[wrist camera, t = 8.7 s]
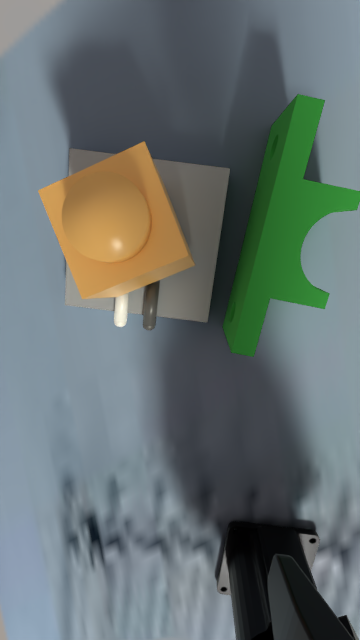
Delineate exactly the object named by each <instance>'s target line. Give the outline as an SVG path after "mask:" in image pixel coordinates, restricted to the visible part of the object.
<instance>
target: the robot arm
mask: <svg viewBox="0 0 360 640" xmlns="http://www.w3.org/2000/svg"><path fill="white" fill-rule="evenodd" d="M234 529H237V530H234ZM311 538H312V539H311ZM319 542H320V539H319V537H318V534H317V532H315V531H313V530H305V529H296V528H288V527H280V526H271V525H263V524H254V523H246V522H237V521H233V522H231V523H230V524H229V525H228V530H227V535H226V540H225V545H224V550H223V555H222V560H221V565H220V570H219V575H218V580H217V591H218V592H219V593H220V594H225V595H231V599H232V607H233V616H234V625H235V633H236V640H359V639H358V637H357V635H356V633H355V631H354V629H353V627H352V625H351V623H350V621H349V619H348V617H347V615H345V616H341V617H338V618H337V616H336V615H335V614H334V612H333V611H332V610H331V608H330V607H329V606H328V604H327V603H326V602H325V600H324V599H323V598H322V596H321V595H320V594H319V592H318V591H317V587H316V585H315V582H314V579H313V576H312V573H311V569H312V566H313V562H314V559H315V556H316V552H317V549H318V546H319Z"/></svg>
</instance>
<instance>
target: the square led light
mask: <svg viewBox="0 0 360 640" xmlns="http://www.w3.org/2000/svg"><path fill="white" fill-rule="evenodd" d="M38 192H39V194H40V197H41V199H42V202H43V204H44V206H45V209H46V211H47V214H48V216H49V219H50V221H51V224H52V226H53V229H54V231H55V234H56V236H57V238H58V241H59V243H60V246H61V248H62V251H63V253H64V256H65V258H66V261H67V263H68V266H69V268H70V271H71V273H72V275H73V278H74V280H75V283H76V285H77V288H78V290H79V293H80V295H81V298H82V299H94V298H110V297H119V296H121V295H124V294H126V293H129V292H131V291H134V290H136V289H139V288H141V287H144V286H146V285H148V284H151V283H153V282H156V281H158V280H161V279H163V278H166V277H168V276H171V275H173V274H176V273H178V272H180V271H183V270H185V269H188V268H190V267H193V266H195V262H194V260H193V257H192V255H191V252H190V250H189V247H188V244H187V242H186V239H185V237H184V234H183V232H182V229H181V226H180V224H179V221H178V219H177V216H176V213H175V211H174V208H173V206H172V203H171V201H170V198H169V195H168V193H167V190H166V188H165V185H164V183H163V180H162V178H161V176H160V174H159V172H158V170H157V167H156V165H155V163H154V161H153V159H152V157H151V154H150V152H149V150H148V148H147V146H146V144H145V141H144V142H142V143H139V144H137V145H135V146H133V147H131V148H129V149H127V150H124V151H122V152H120V153H118V154H116V155H114V156H111V157H109V158H107V159H105V160H103V161H101V162H99V163H96V164H94V165H92V166H90V167H88V168H86V169H83V170H81V171H79V172H77V173H75V174H73V175H71V176H68V177H66V178H64V179H62V180H60V181H58V182H55V183H53V184H51V185H49V186H47V187H45V188H43V189H40V190H38Z"/></svg>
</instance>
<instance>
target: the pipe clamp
mask: <svg viewBox="0 0 360 640" xmlns="http://www.w3.org/2000/svg"><path fill="white" fill-rule="evenodd" d="M324 102H325V100H322V99H317V98H313V97H308V96H304V95H299V94H297V96H296V97H295V98H294V99H293V101H292V102H291V103H290V104H289V105H288V107H287V108H286V109H285V110H284V111H283V113H282V114H281V115H280V116H279V118H278V119H277V120H276V121H275V122H274V124H273V125H272V126H271V130H270V134H269V138H268V142H267V147H266V151H265V155H264V159H263V163H262V167H261V171H260V175H259V179H258V183H257V188H256V192H255V196H254V200H253V204H252V208H251V212H250V216H249V220H248V224H247V229H246V233H245V237H244V241H243V245H242V249H241V253H240V257H239V261H238V265H237V270H236V274H235V278H234V282H233V286H232V290H231V294H230V298H229V302H228V306H227V310H226V315H225V319H224V323H223V330H224V333H225V336H226V338H227V341H228V344H229V347H230V350H231V353H236V354H241V355H246V356H252V357H254V354H255V351H256V347H257V343H258V340H259V336H260V333H261V329H262V325H263V322H264V318H265V315H266V311H267V307H268V304H269V300H270V298H272V299H277V300H282V301H287V302H292V303H297V304H302V305H307V306H312V307H317V308H322V309H325V306H326V303H327V300H328V297H329V293H327V292H325V291H323V290H321V289H319V288H316V287H314V286H313V285H312V284H311V283H310V282H309V281H308V280H307V278H306V277H305V275H304V273H303V270H302V267H301V261H300V254H301V247H302V244H303V241H304V238H305V236H306V235H307V233H308V231H309V230H310V229H311V227H312V226H313V225H314V224H315V223H316V222H317V221H318V220H320V219H321V218H322V217H324V216H326V215H327V214H329V213H333V212H343V211H352V210H357V208H358V205H359V202H360V191H356V190H351V189H347V188H342V187H337V186H332V185H328V184H323V183H318V182H314V181H309V180H304V179H303V178H304V174H305V170H306V167H307V163H308V160H309V156H310V152H311V149H312V145H313V142H314V138H315V134H316V131H317V127H318V124H319V120H320V116H321V113H322V109H323V106H324Z"/></svg>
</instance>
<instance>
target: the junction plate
mask: <svg viewBox="0 0 360 640" xmlns="http://www.w3.org/2000/svg"><path fill="white" fill-rule="evenodd" d="M114 155H116V154H112V153H104V152H96V151H88V150H80V149H72V148H70V151H69V176H71V175H73V174H75V173H77V172H79V171H81V170H83V169H86V168H88V167H90V166H92V165H94V164H96V163H99V162H101V161H103V160H105V159H107V158H109V157H111V156H114ZM153 161H154V163H155V165H156V167H157V170H158V172H159V174H160V176H161V178H162V180H163V183H164V185H165V188H166V190H167V193H168V195H169V198H170V201H171V203H172V206H173V208H174V211H175V213H176V216H177V219H178V221H179V224H180V226H181V229H182V232H183V234H184V237H185V239H186V242H187V244H188V247H189V250H190V252H191V255H192V257H193V260H194V262H195V266H193V267H190V268H188V269H185V270H183V271H180V272H178V273H176V274H173V275H171V276H168V277H166V278H163V279H161V280H158V281H156V282H153V283H151V284H148V285H146V286H144V287H141V288H139V289H136V290H134V291H131V292H129V293H126V294H124V295H121V296H119V297H110V298H94V299H82V298H81V295H80V293H79V290H78V288H77V285H76V283H75V280H74V278H73V275H72V273H71V271H70V268H69V266H68V263H67V261H66V291H65V305H69V306H77V307H85V308H93V309H101V310H109V311H115V312H114V323H115V325H116V326H118V327H123V326H124V325H125V324H126V322H127V313H134V314H142V315H144V317H143V327H144V328H145V329H146V330H152V329H154V328H155V325H156V316H158V317H167V318H175V319H183V320H191V321H199V322H208V315H209V308H210V302H211V295H212V288H213V281H214V275H215V268H216V261H217V254H218V248H219V241H220V234H221V227H222V221H223V214H224V207H225V200H226V194H227V187H228V180H229V173H230V168H222V167H214V166H207V165H199V164H191V163H183V162H175V161H167V160H159V159H153Z"/></svg>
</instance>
